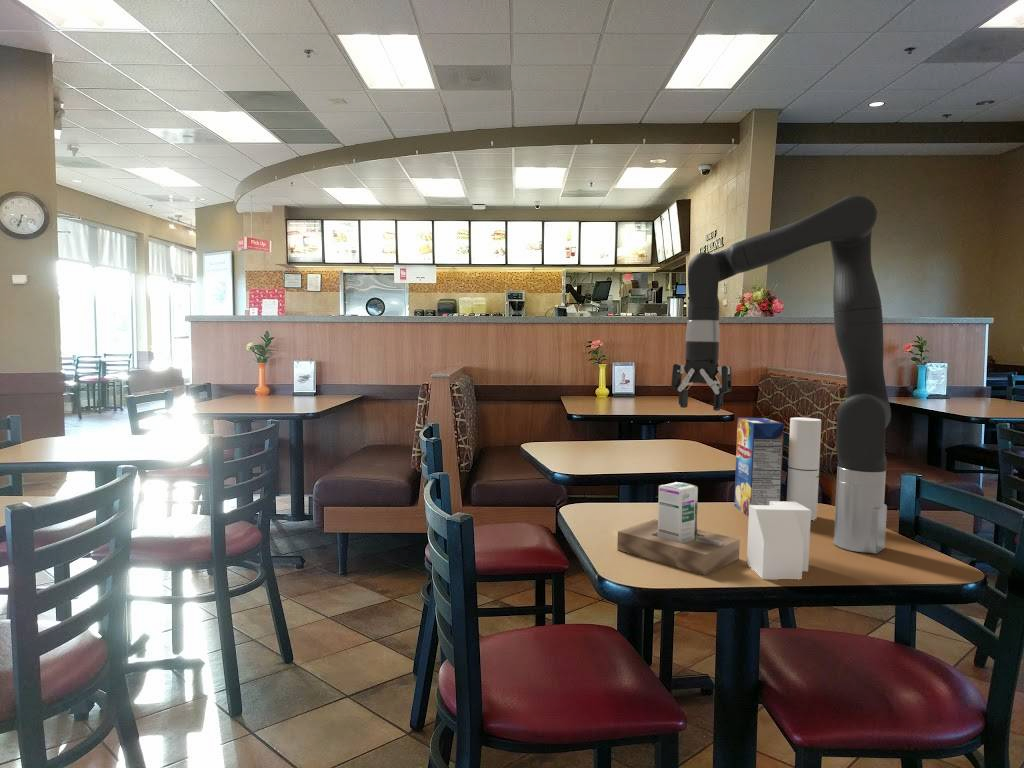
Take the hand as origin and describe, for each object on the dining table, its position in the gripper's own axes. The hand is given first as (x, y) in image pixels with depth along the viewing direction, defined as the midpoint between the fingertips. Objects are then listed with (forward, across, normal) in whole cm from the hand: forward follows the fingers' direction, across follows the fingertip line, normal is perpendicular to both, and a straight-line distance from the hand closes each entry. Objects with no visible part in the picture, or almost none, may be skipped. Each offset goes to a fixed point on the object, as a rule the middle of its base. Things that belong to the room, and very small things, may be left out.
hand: (699, 408), depth 154 cm
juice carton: (+28, -4, -24) cm, 37 cm away
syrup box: (+28, -8, +22) cm, 37 cm away
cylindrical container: (+28, -14, -28) cm, 42 cm away
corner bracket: (+28, -26, +15) cm, 41 cm away
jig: (+28, -8, +22) cm, 37 cm away
